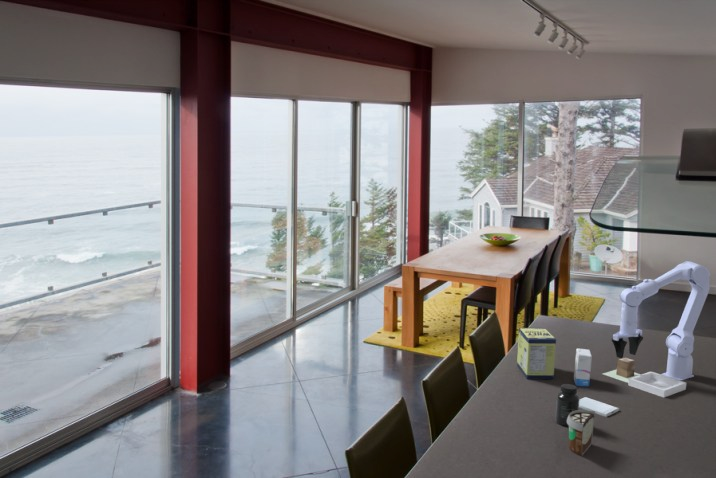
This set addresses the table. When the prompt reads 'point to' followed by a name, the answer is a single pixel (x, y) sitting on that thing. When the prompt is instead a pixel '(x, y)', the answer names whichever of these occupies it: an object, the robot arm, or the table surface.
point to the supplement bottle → (566, 403)
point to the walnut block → (625, 367)
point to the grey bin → (657, 384)
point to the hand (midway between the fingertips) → (626, 355)
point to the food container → (580, 430)
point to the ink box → (582, 367)
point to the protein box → (536, 353)
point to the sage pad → (613, 375)
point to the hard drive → (597, 407)
